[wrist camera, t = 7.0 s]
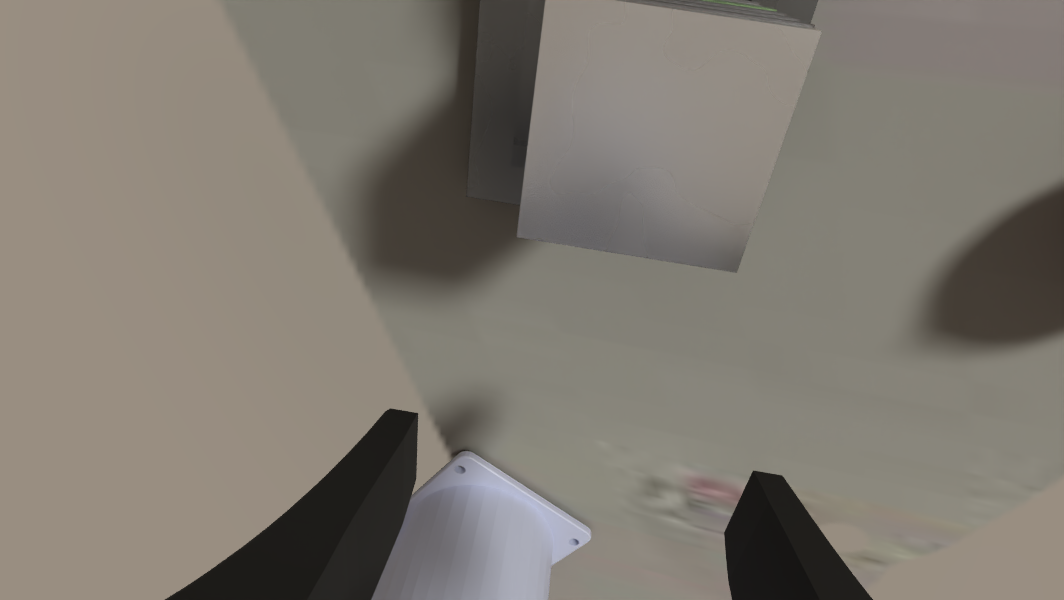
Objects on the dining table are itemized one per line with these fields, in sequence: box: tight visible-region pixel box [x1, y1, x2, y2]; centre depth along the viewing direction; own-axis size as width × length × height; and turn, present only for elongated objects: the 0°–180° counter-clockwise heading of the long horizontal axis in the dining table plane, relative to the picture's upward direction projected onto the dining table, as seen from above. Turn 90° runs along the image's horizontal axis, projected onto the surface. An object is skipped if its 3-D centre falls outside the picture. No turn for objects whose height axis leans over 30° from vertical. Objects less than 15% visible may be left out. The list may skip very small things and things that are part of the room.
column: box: [517, 0, 822, 273], centre depth 12 cm, size 4×4×6 cm
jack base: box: [466, 0, 818, 205], centre depth 14 cm, size 13×9×8 cm
